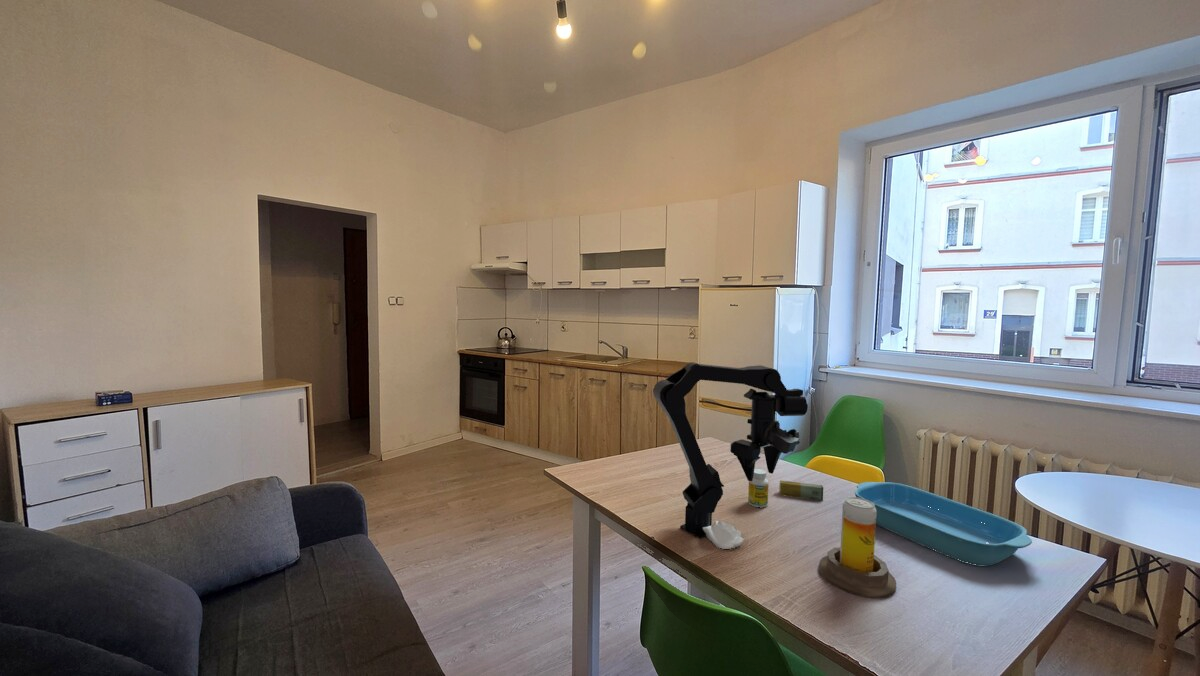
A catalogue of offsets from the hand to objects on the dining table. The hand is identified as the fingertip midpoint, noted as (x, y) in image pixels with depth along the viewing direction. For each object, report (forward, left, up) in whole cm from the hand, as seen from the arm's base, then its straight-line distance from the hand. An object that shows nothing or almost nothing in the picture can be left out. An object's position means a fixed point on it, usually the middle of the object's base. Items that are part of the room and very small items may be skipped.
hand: (760, 476), depth 116 cm
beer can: (-3, -25, -12) cm, 28 cm away
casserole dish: (+32, -28, -14) cm, 45 cm away
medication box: (+28, +4, -13) cm, 31 cm away
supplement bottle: (+12, +8, -13) cm, 20 cm away
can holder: (-3, -25, -13) cm, 28 cm away
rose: (-13, +1, -13) cm, 19 cm away
